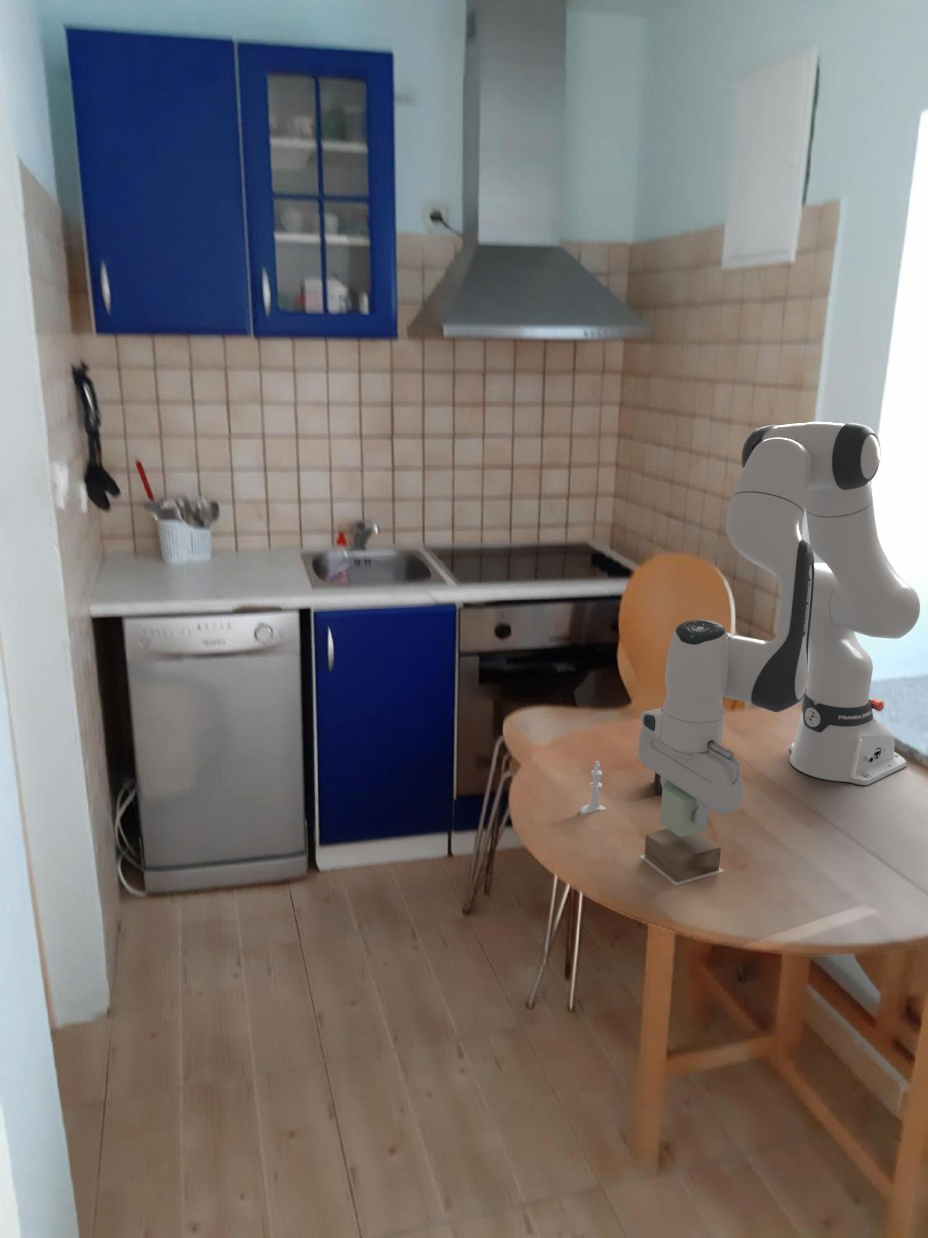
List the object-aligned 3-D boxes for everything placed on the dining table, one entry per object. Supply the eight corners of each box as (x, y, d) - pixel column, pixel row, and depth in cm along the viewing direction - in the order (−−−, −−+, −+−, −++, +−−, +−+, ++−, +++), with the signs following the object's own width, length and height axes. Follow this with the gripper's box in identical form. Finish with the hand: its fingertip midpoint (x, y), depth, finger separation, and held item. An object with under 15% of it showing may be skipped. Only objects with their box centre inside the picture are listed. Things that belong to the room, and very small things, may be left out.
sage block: (685, 815, 148) (688, 780, 146) (706, 830, 144) (710, 794, 142) (659, 822, 146) (662, 787, 144) (680, 837, 142) (683, 801, 140)
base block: (685, 845, 152) (687, 823, 151) (718, 870, 145) (721, 847, 144) (644, 857, 148) (646, 834, 147) (676, 882, 142) (678, 858, 140)
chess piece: (613, 812, 165) (616, 760, 162) (601, 824, 161) (604, 770, 158) (587, 805, 168) (590, 753, 165) (575, 816, 164) (577, 763, 161)
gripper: (757, 752, 133) (748, 841, 137) (666, 703, 150) (660, 783, 154) (722, 760, 130) (713, 850, 134) (633, 710, 148) (628, 790, 152)
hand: (684, 814), depth 144 cm, fingers closed on sage block, 5 cm apart
